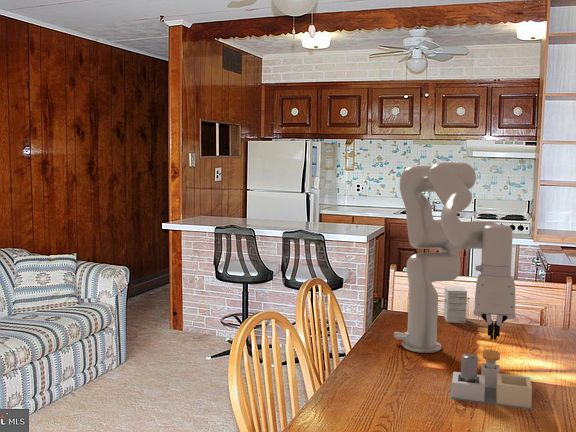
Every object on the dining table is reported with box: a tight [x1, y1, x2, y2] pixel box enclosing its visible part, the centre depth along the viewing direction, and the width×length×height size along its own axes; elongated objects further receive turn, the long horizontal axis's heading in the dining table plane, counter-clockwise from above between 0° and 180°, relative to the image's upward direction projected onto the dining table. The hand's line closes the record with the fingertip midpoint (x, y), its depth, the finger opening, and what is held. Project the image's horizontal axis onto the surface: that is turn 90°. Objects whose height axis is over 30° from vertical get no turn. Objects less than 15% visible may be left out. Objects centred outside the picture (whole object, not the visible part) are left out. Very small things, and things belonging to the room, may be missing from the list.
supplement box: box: [443, 286, 468, 324], centre depth 229 cm, size 7×7×13 cm
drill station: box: [448, 362, 534, 411], centre depth 156 cm, size 20×16×6 cm
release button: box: [482, 349, 501, 369], centre depth 160 cm, size 4×4×6 cm
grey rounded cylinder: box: [460, 353, 479, 383], centre depth 154 cm, size 4×4×10 cm
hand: (493, 338), depth 159 cm, fingers closed
